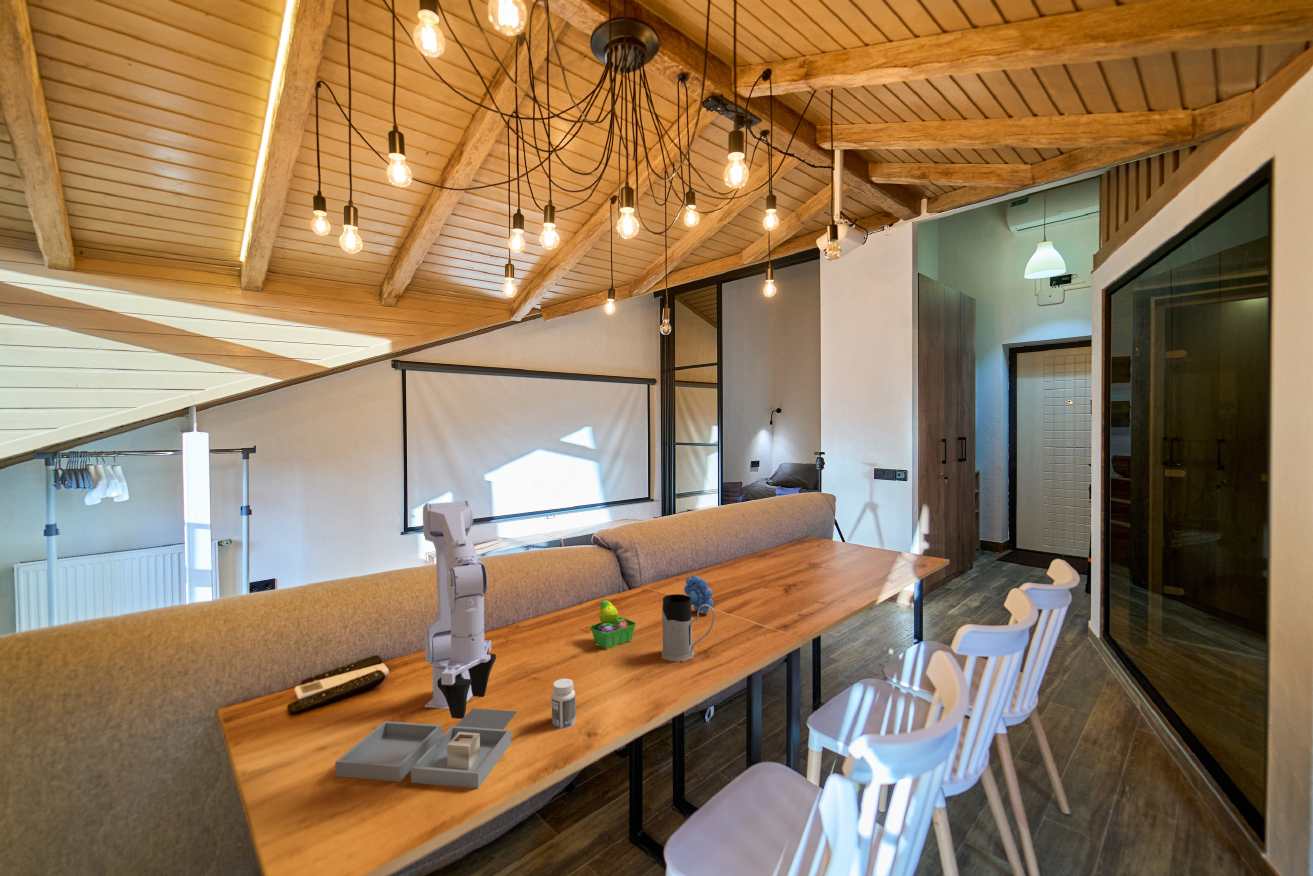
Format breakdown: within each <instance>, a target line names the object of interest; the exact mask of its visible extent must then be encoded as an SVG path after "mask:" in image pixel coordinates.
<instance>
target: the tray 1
mask: <svg viewBox="0 0 1313 876" xmlns="http://www.w3.org/2000/svg"><path fill="white" fill-rule="evenodd" d="M442 735H443V725H442V724H433V723H432V724H430V723H416V722H402V721H390V720H389V721H388V720H385V721H383V722H382V723H381V724H379V725H378V726H377V727H376V728H374V729H373V730H372V731H371V732H369V733H368V734H367V735H366V736H365V737H363V739H361V740H360V741H359V742H358V743H356V744H355V745H354V746H352V748H350V749H349V750H348V751H346V752H345V753H344V754H343V755H341V756H340V757H339V758H338V759H337V760H336V761H335V762H334V763H335V766H334V768H335V770H334V771H335V775H334V776H335V777H342V778H343V777H344V778H353V779H365V780H377V781H387V782H389V781H390V782H401V781H402V780H404V779H405V778H406V776H407V775H408V774H410V773H411V767H412V766H413V765H414V764H415V763H416V762H417V761H418V760H419V759H420V758H421V757H422V756H423V755H424V754H425V753H426V752H427V751H428V750H429V749H430V748H431V747H432V746H433V745H434V744H435V742H436V741H437V740H438V739H439V738H440V737H441V736H442Z"/></svg>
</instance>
